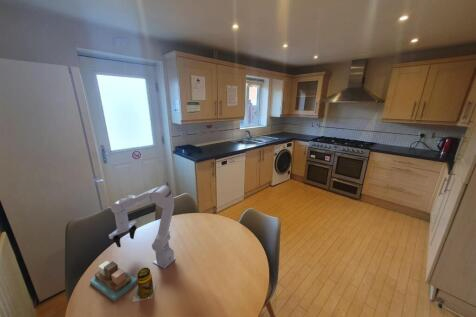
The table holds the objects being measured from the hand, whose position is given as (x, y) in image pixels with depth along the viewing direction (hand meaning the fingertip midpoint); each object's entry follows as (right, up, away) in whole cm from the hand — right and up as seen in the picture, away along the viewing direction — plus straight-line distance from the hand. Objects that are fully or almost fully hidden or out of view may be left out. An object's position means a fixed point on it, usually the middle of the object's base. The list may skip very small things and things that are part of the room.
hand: (125, 242), depth 106 cm
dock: (+2, -14, -13) cm, 20 cm away
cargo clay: (+7, -10, -17) cm, 21 cm away
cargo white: (-3, -9, -12) cm, 15 cm away
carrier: (+2, -12, -14) cm, 18 cm away
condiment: (+20, -15, -18) cm, 31 cm away
